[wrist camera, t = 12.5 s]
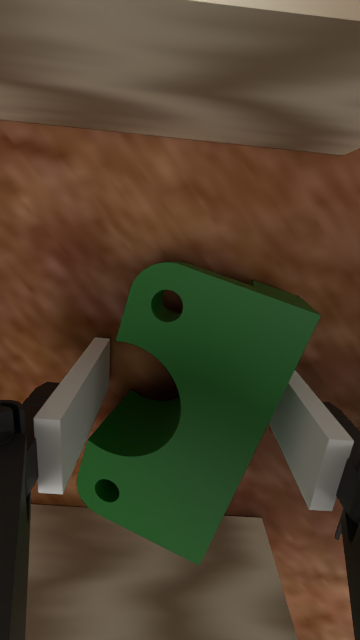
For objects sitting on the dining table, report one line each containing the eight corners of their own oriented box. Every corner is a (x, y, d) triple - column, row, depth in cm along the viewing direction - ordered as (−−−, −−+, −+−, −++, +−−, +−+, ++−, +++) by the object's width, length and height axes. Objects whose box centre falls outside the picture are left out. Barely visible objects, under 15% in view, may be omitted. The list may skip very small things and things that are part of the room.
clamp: (182, 281, 19) (161, 203, 10) (272, 315, 18) (339, 262, 9) (106, 465, 17) (2, 568, 8) (200, 511, 17) (196, 677, 8)
